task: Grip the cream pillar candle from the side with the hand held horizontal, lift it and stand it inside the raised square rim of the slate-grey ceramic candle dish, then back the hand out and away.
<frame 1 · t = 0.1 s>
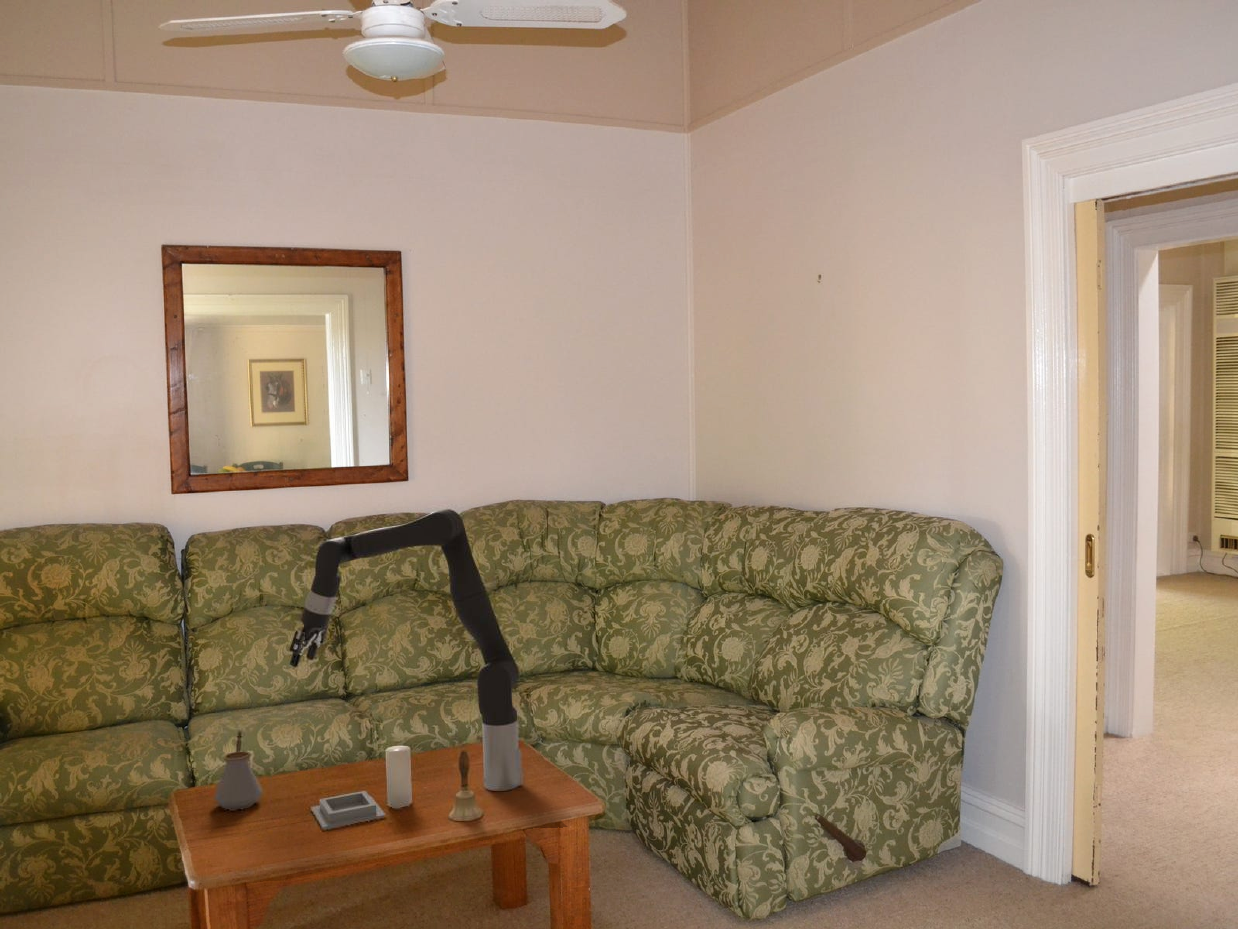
hand: (301, 662, 288), 31 cm above the table, tool tilted 20°, fingers open, 8 cm apart
hand bell: (465, 816, 257), on the table
candle dish: (348, 814, 260), on the table
coffee pot: (240, 799, 273), on the table
candle: (399, 804, 266), on the table
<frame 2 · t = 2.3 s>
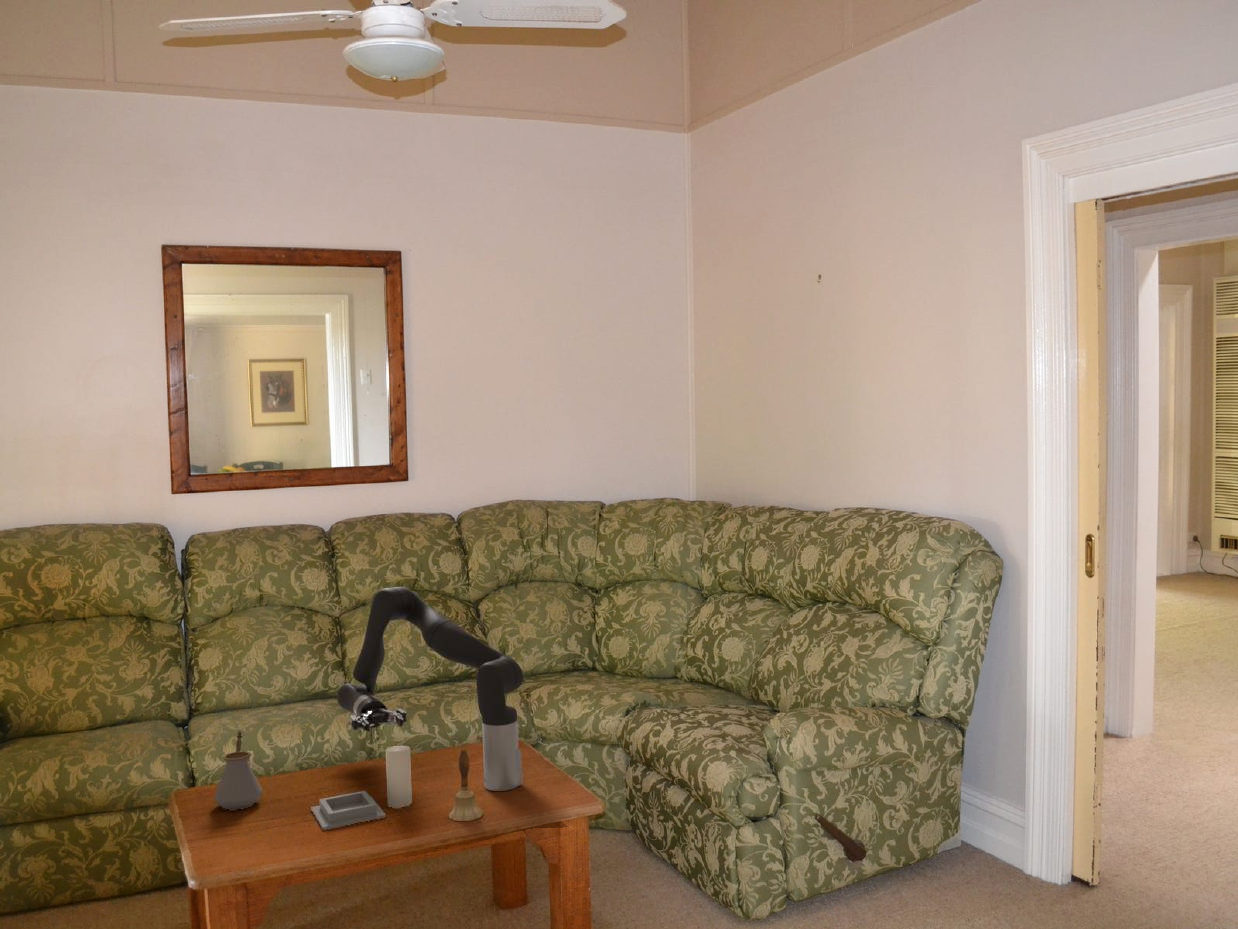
hand: (384, 725, 276), 17 cm above the table, tool horizontal, fingers open, 8 cm apart
nothing on the table moved.
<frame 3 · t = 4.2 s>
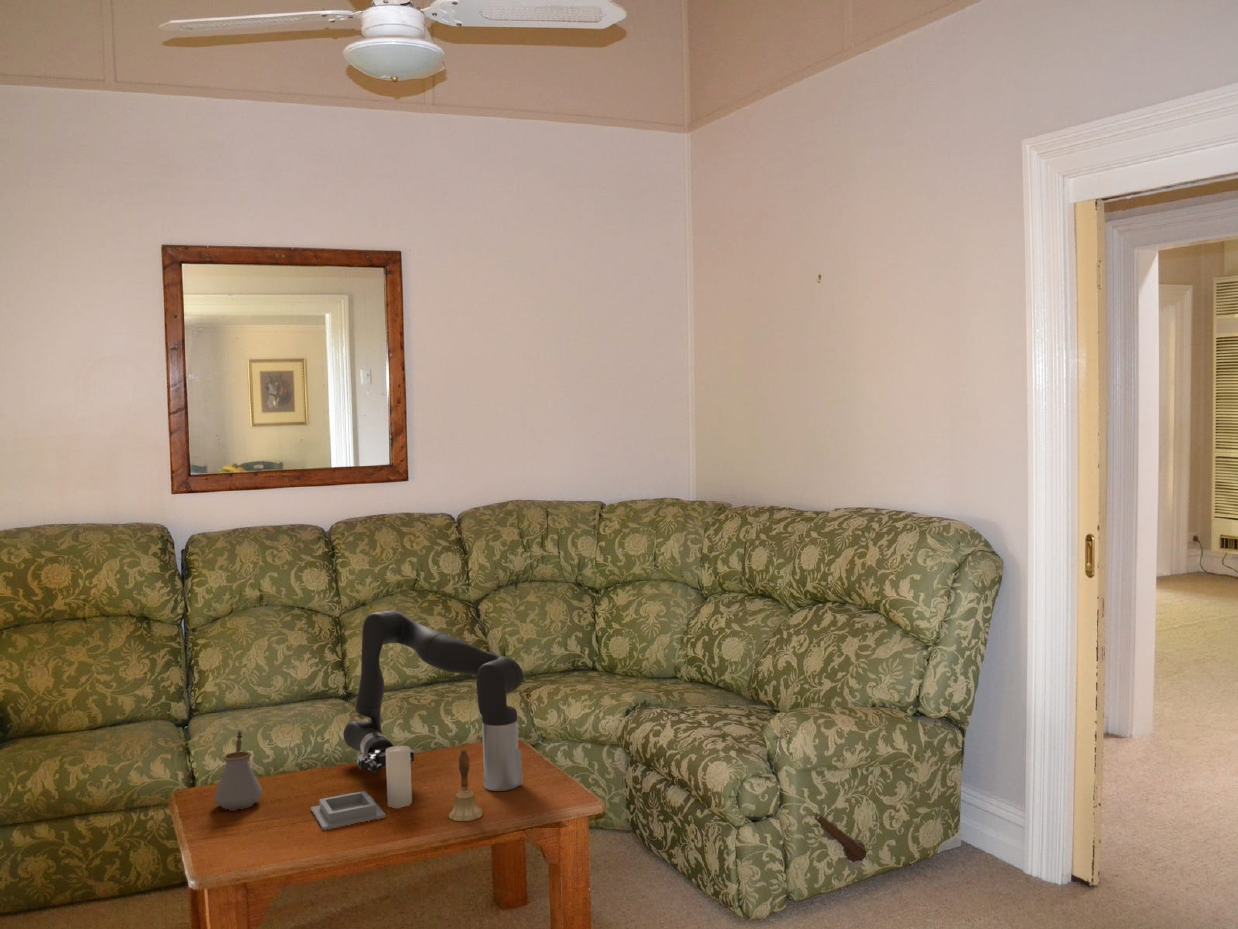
hand: (392, 766, 271), 8 cm above the table, tool horizontal, fingers open, 8 cm apart
nothing on the table moved.
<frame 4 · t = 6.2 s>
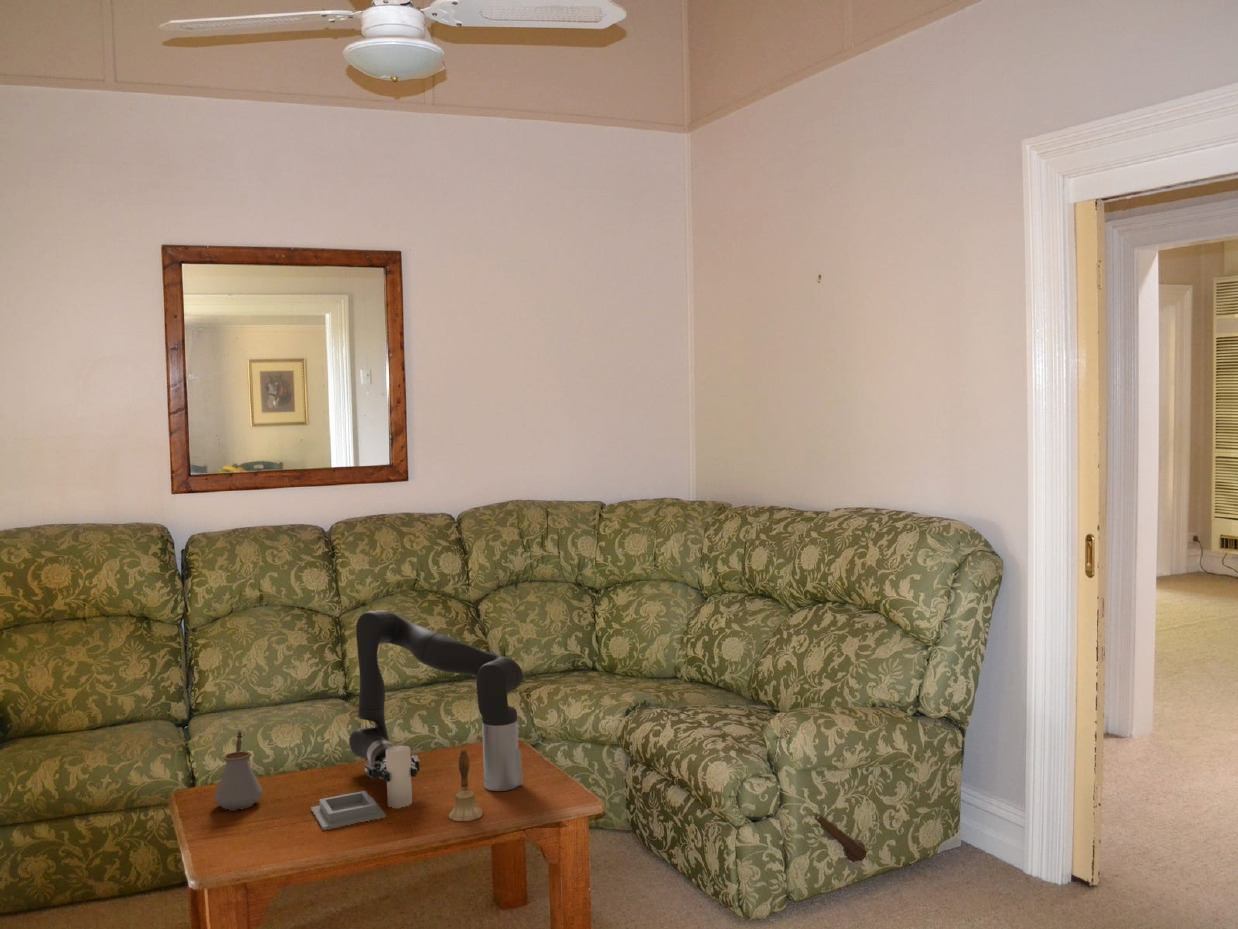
hand: (401, 775, 263), 8 cm above the table, tool horizontal, fingers closed on candle, 6 cm apart
candle: (399, 804, 266), on the table, touching gripper
everything else where it was.
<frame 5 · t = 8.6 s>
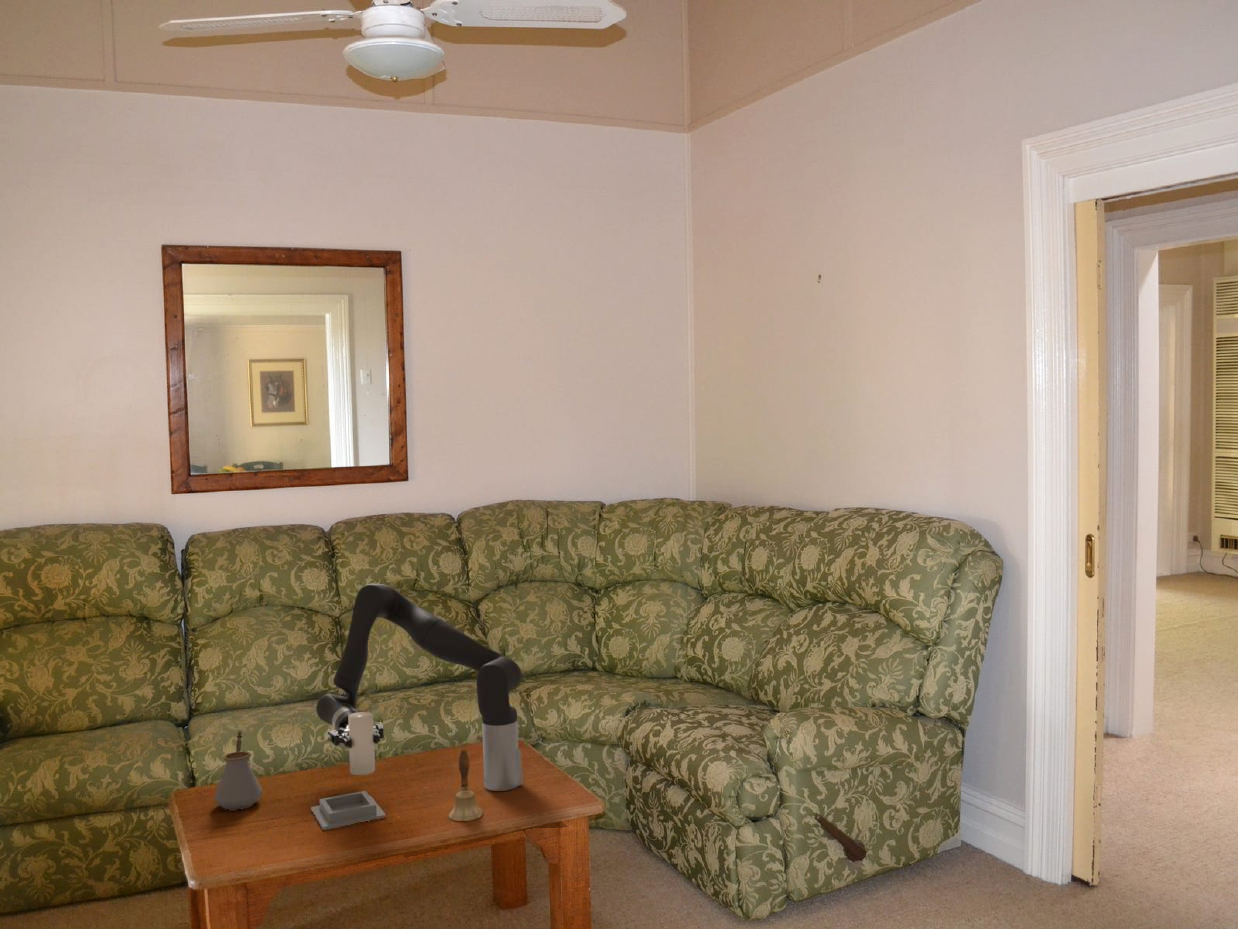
hand: (363, 741, 259), 18 cm above the table, tool horizontal, fingers closed on candle, 6 cm apart
candle: (362, 771, 262), point 10 cm above the table, touching gripper
everything else where it was.
when the fingers open (10 cm above the table, at t = 11.4 s): candle drops 1 cm, resting on candle dish.
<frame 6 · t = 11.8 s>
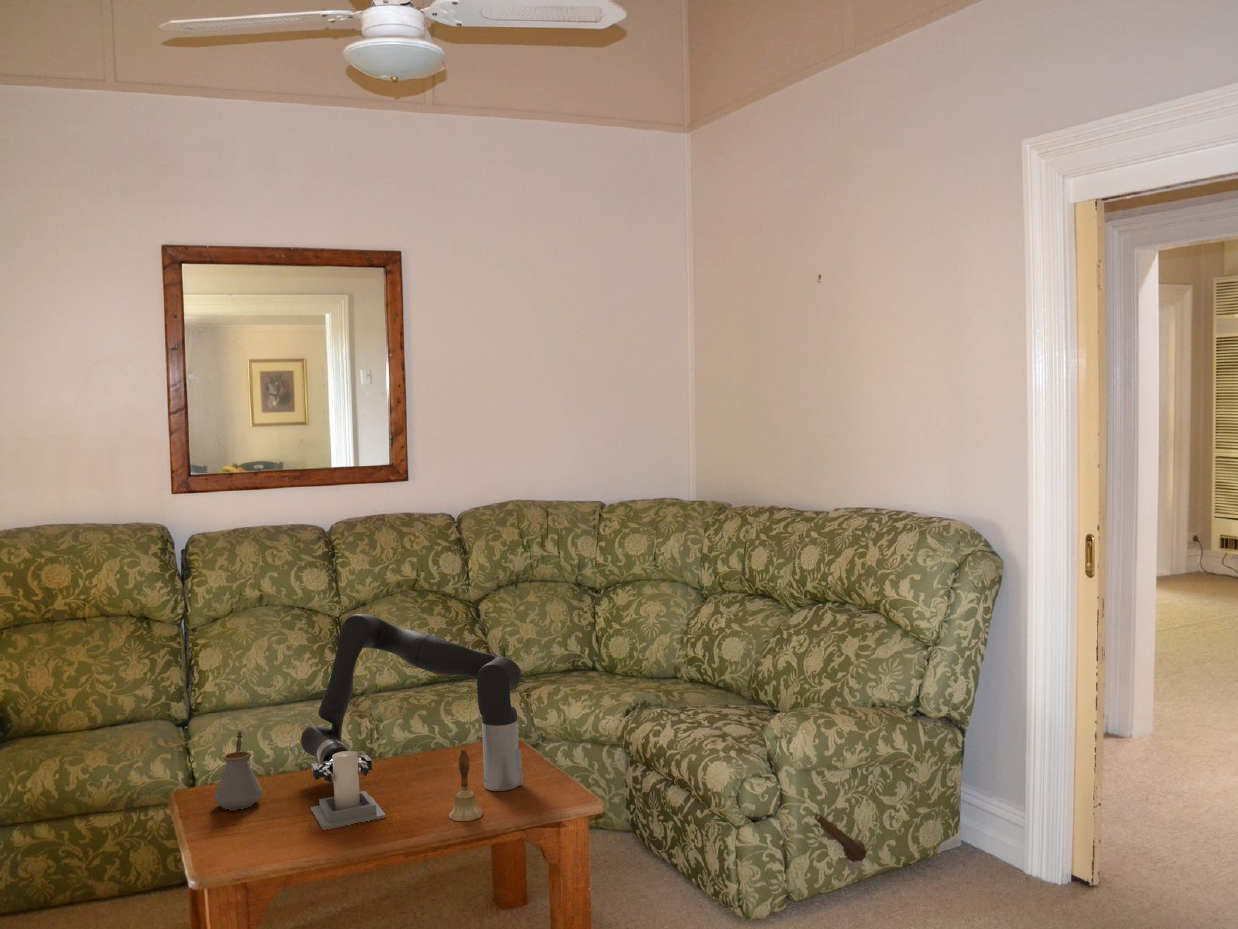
hand: (348, 775, 258), 10 cm above the table, tool horizontal, fingers open, 8 cm apart
candle: (347, 810, 260), point 1 cm above the table, touching candle dish
everything else where it was.
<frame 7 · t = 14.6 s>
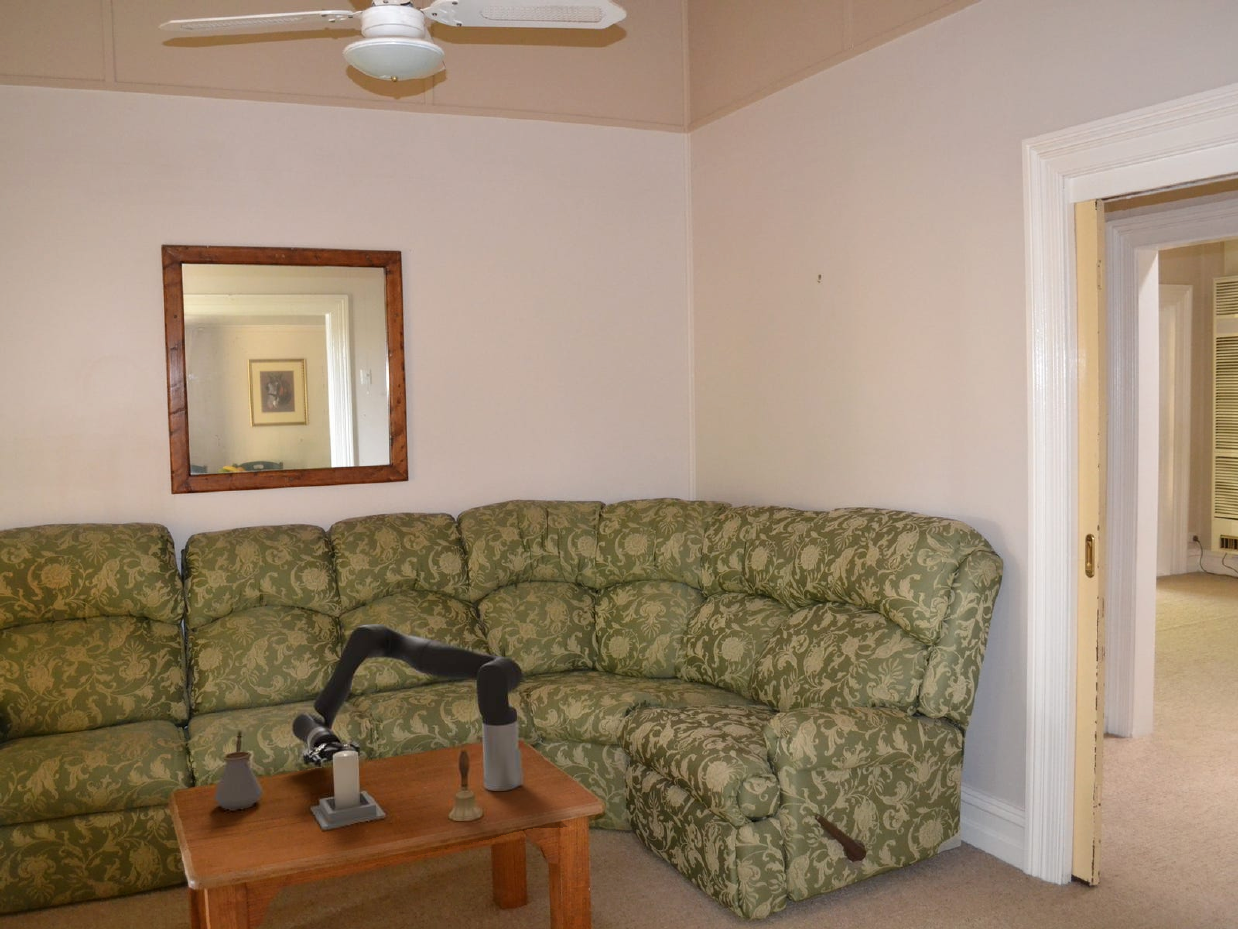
hand: (336, 760, 269), 10 cm above the table, tool horizontal, fingers open, 8 cm apart
nothing on the table moved.
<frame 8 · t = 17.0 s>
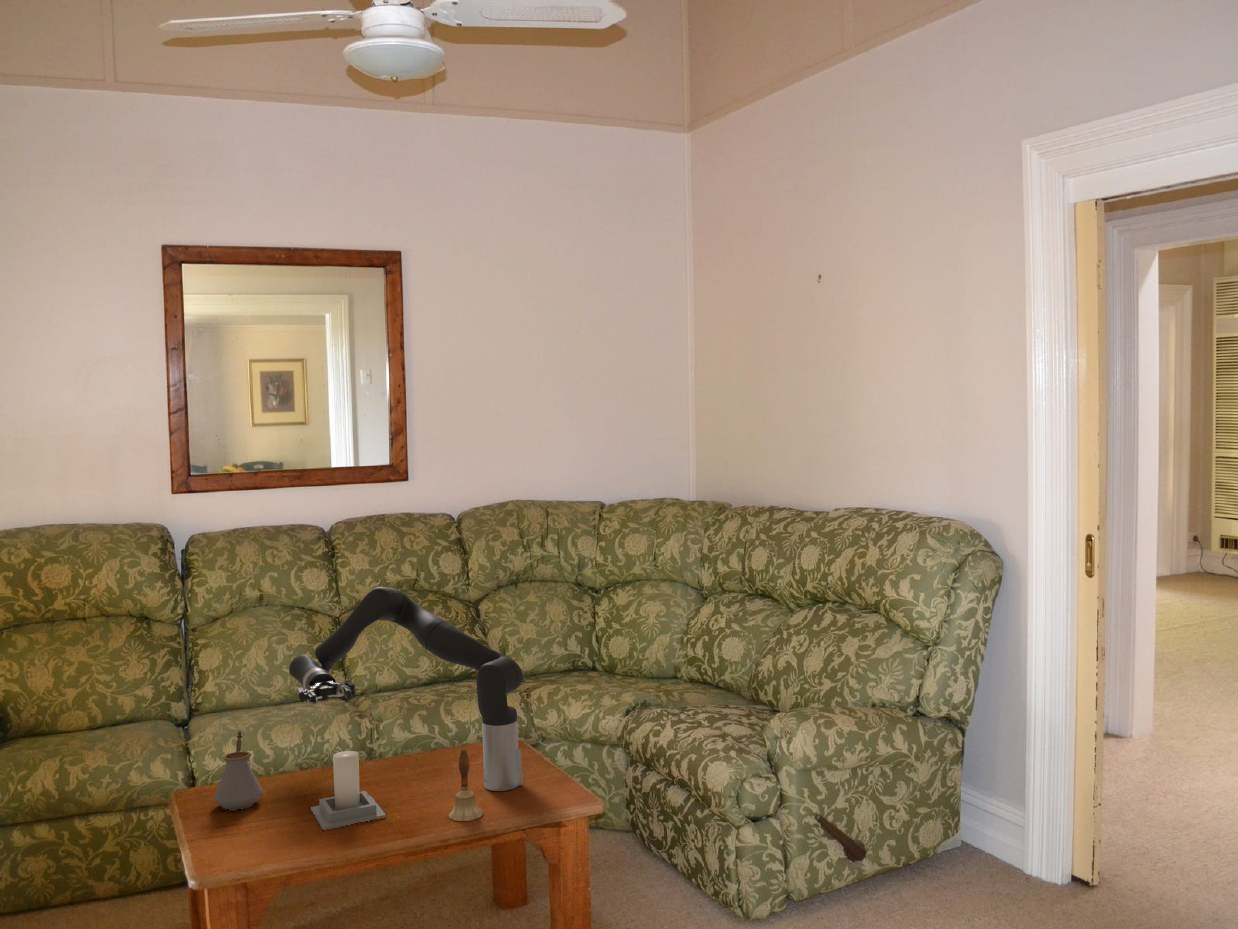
hand: (331, 697, 271), 26 cm above the table, tool horizontal, fingers open, 8 cm apart
nothing on the table moved.
at the end: candle 0.1 cm off-centre on the candle dish, point 0.9 cm above the candle dish's base; candle tilted 1°; the gripper is holding nothing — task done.
